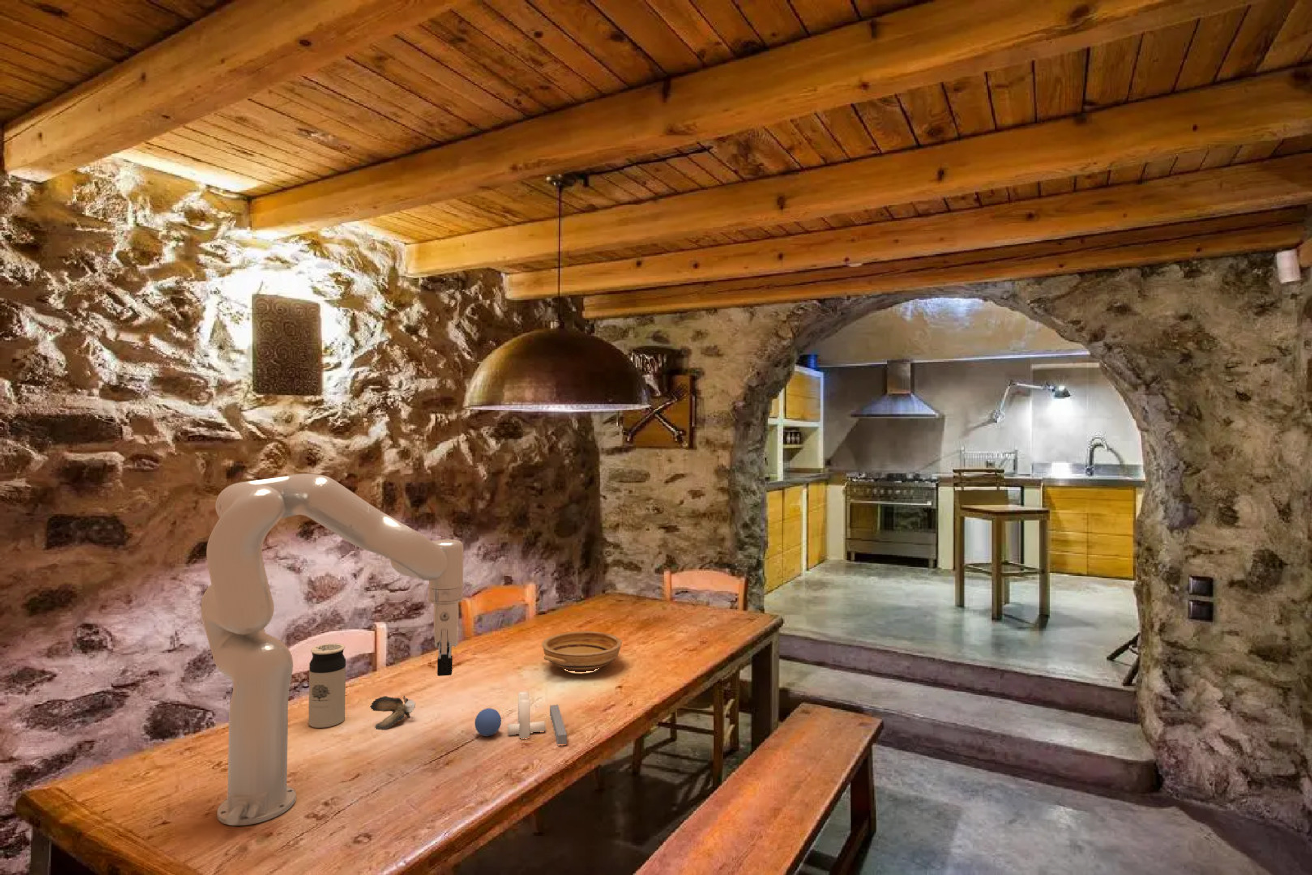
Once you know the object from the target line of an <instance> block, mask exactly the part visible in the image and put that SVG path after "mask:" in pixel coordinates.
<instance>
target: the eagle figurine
mask: <svg viewBox="0 0 1312 875" xmlns="http://www.w3.org/2000/svg"><path fill="white" fill-rule="evenodd" d="M402 696H403V697H402V699H401V698H400V697H390V696H387V695H383V696H381V697H377V698H376V699H374V700H373V701H372V703H371V705H370V709H371V710H372V711H373V712H383V713H385V712H391V714H390V715H388V716H387V717H385V718H384V719H382V721H380V722H379V723H377V724H375V727H374V729H375V728H376V729H375V730H382V731H383V730H386V729H389V728H391V727H392V726H393V725H395V724H396V723H398V722H399V721H402V720H403V719H404V718H405V716H406V717H407V718H408V719H410V718H411V713H413V712H414V710H415V708H416V702H415V700H414V699H409V698H407V697H406V696H405V695H402Z"/></svg>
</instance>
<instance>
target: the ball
mask: <svg viewBox="0 0 1312 875" xmlns="http://www.w3.org/2000/svg"><path fill="white" fill-rule="evenodd" d="M501 724H502V718H501V715H500V713H499V711H497V710H496V709H494V708H490V707H489V708H484V709H482V710H480V711H479V713H477V715H476V717H475V719H474V728H475V730H476V732H477V733H478V734H479V735H481V736H482V737H483V736H484V737H490V736H493V735H494V734H496V733H497V732H498V731H499V729H500V727H501Z"/></svg>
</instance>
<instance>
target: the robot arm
mask: <svg viewBox="0 0 1312 875" xmlns="http://www.w3.org/2000/svg"><path fill="white" fill-rule="evenodd" d="M215 511H216V514H217V516H218V518H219V519H218V520H217V522H216V523H215V525H214V527H213V529H212V530H211V533H210V535H209V538H208V541H207V545H206V562H207V568H208V573H209V580H210V585H209V586H208V587H207V588H206V590H205V591H204V594H203V595H202V598H201V603H200V610H201V616H202V621H203V625H204V629H205V633H206V638H207V641H208V645H209V648H210V652H211V655H212V659H213V661H214V664H215V667H216V668H217V669H218V671H219V672H220V673H221V674H222V675H224V676H225V677H226V678H228V679H229V680H230V681H231V682H232V686H233V687H232V688H233V689H232V694H231V699H230V702H229V710H228V753H227V754H228V756H227V757H228V758H227V761H228V762H227V763H228V764H227V798H226V799H225V800H224V801H223V802H222V803H221V804H219V806H218V808H217V811H216V812H217V813H216V815H217V816H216V818H217V819H218V821H219V822H220V823H222V824H224V825H229V826H238V827H239V826H248V825H249V826H250V825H254V824H255V825H256V824H259V823H263V822H267V821H269V820H271V819H275V818H276V817H279V816H280V815H283V813H286V812H287V811H288V810H290V809H291V808H292V806H293V805H294V804H295V802H296V800H297V792H296V790H295V789H294V788H293V787H290V786H288V742H289V740H288V738H289V737H288V736H289V735H288V732H289V730H288V729H289V698H290V697H289V696H290V686H291V682H292V677H293V676H292V675H293V671H294V670H293V669H294V662H293V661H294V660H293V656H292V653H291V651H290V649H289V648H288V646H287V645H286V644H285V643H284V642H283V641H281V640H280V639H278V638H276V637H274V636H273V635H270V634H268V633H267V632H266V630H265V628H266V627H267V626H268V625H269V623H270V622H271V621H272V619H273V616H274V611H275V605H274V600H273V595H272V592H271V588H270V585H269V581H268V576H267V573H266V568H265V563H264V557H263V546H264V545H263V544H264V541H265V539H266V537H267V535H268V533H270V531H271V530H272V529H273V528H274V527H275V526H276V525H277V524H278V522H279V521H280V520H281V519H285V518H289V517H294V516H298V515H300V516H305V517H307V518H309V519H311V520H312V521H314V522H316V523H317V524H319V525H321V526H322V527H325V528H326V529H327V530H330V531H331V532H332V533H334V534H335V535H337V536H338V537H340V538H341V539H343V540H344V541H346V542H348V543H349V544H351V545H354V546H355V547H358V548H360V549H362V550H364V551H368V552H371V553H374V554H376V555H380V556H382V557H384V558H387V559H389V560H390V564H391V565H390V566H391V567H392V568H393V570H395V571H396V573H398V574H400V575H404V576H406V577H410V578H415V579H418V580H422V581H426V582H428V603H429V604H432V605H433V636H434V647H435V648H437V650H438V654H437V655H438V656H437V659H436V660H437V664H436V665H437V668H436V671H437V672H436V673H437V674H436V675H437V676H438V677H445V676H451V675H453V655H452V653H453V652H452V650H453V648H452V647H454V648H456V647H457V646H458V645H459V644H458V643H459V623H460V622H459V616H460V615H459V614H460V613H459V603H461V602H462V601H463V600H464V544H463V543H462V541H461V540H459V539H452V538H451V539H450V538H449V539H438V540H434V541H432V540H431V539H429V538H427V536H425V535H423V534H422V533H420V532H418V531H417V530H415V529H414V528H411V527H410V526H408V525H406V524H404V523H402V522H401V521H399V520H397V519H395V518H393V517H392V516H390V515H388V514H387V513H385V512H383V511H381V510H380V509H378V508H376V507H375V506H374V505H372V504H370V503H369V502H367V501H366V500H365V499H363V498H361V497H360V496H359V495H357V494H356V493H354V492H352V491H351V490H350V489H348V488H347V487H345V486H344V485H343V484H341V483H339V482H338V481H337V480H335V479H333V478H332V477H329V476H327V475H323V474H314V473H299V474H291V475H285V476H278V477H270V478H264V479H256V480H249V481H241V482H236V483H233V484H231V485H228V486H227V487H224V489H223V490H221V492H220V493H219V494H218V496H217V498H216V501H215Z"/></svg>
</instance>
